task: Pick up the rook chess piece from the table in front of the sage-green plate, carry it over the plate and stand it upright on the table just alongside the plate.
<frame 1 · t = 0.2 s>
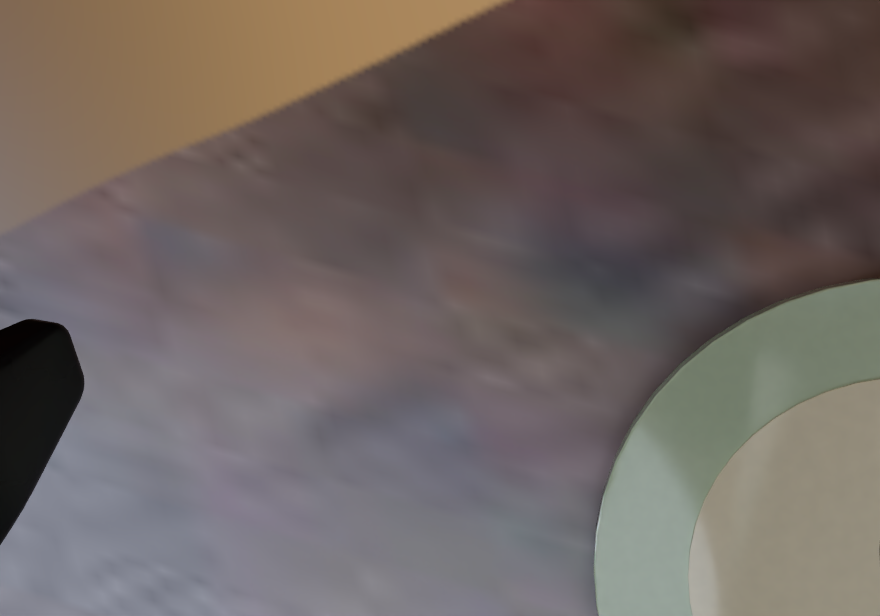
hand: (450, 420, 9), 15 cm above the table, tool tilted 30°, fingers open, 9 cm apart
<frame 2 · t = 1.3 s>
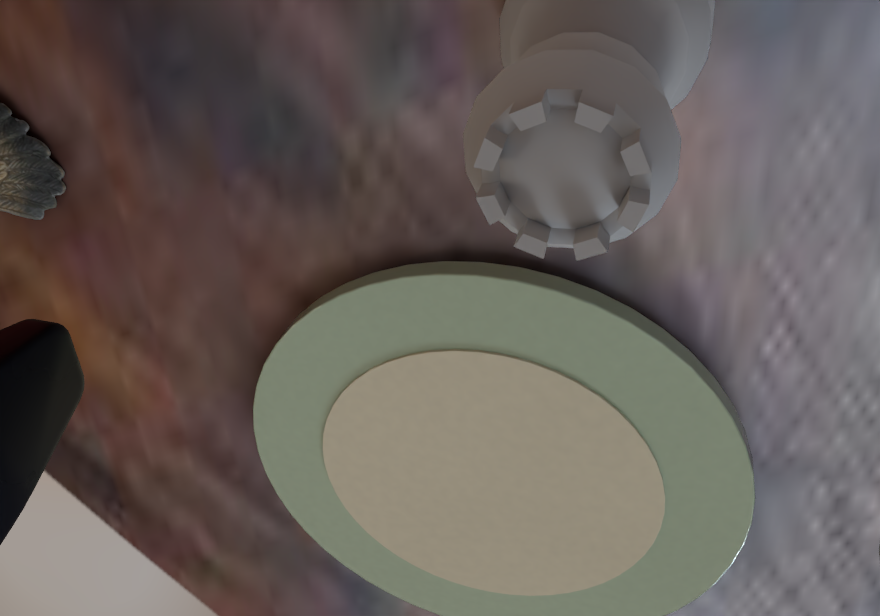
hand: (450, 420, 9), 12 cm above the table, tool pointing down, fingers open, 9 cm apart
plate: (493, 457, 27), on the table
rook chess piece: (608, 15, 18), on the table
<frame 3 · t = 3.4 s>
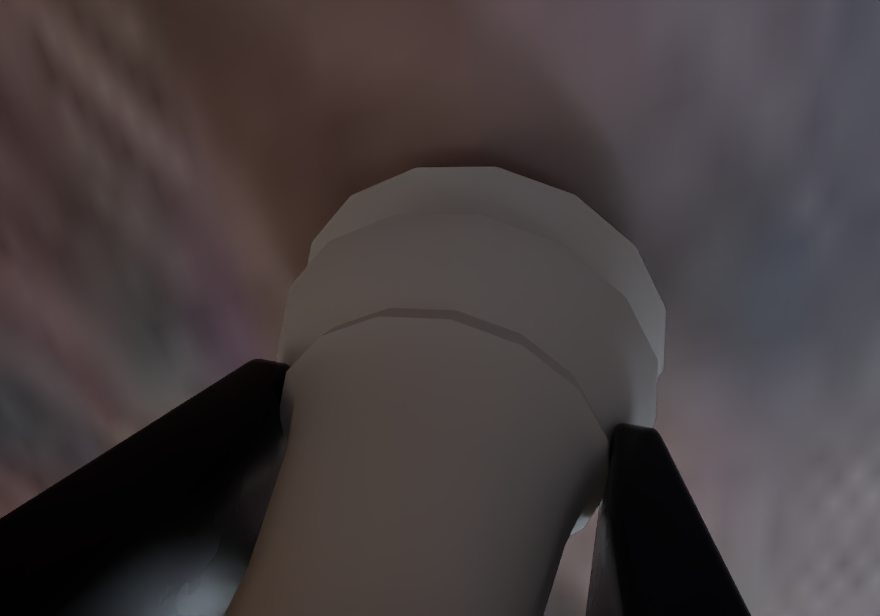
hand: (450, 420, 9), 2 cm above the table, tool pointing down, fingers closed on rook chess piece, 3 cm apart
rook chess piece: (486, 298, 10), on the table, touching gripper
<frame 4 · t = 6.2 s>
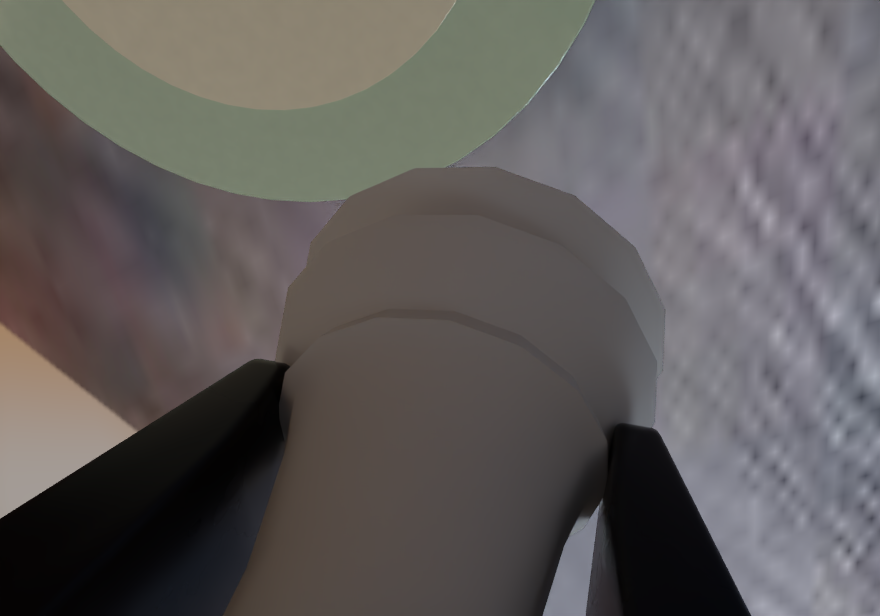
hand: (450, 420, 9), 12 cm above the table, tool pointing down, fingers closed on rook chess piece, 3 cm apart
rook chess piece: (486, 299, 10), point 10 cm above the table, touching gripper
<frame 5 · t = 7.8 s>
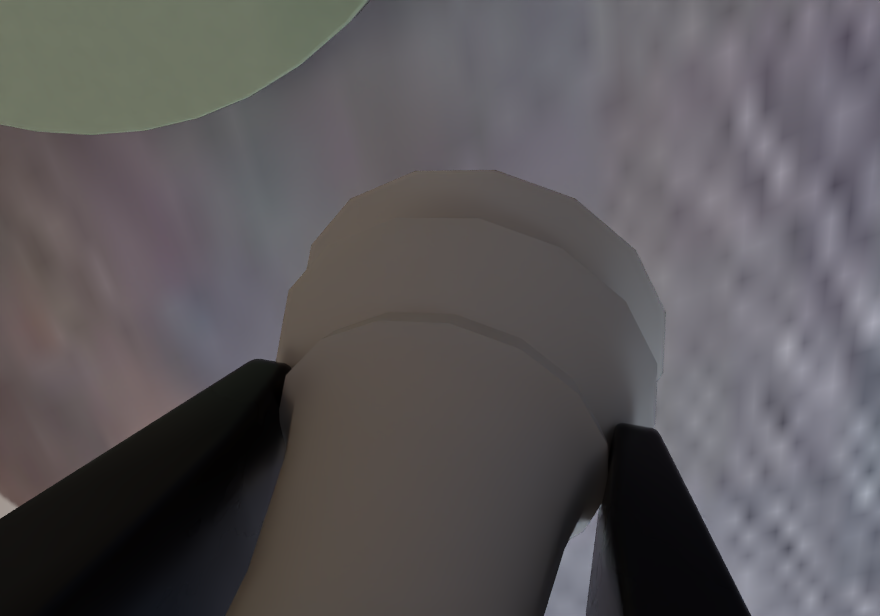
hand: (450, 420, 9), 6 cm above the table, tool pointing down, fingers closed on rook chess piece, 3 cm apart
rook chess piece: (486, 301, 10), point 4 cm above the table, touching gripper
when the fingers open (2 cm above the table, at t = 9.3 s): rook chess piece stays where it is, on the table.
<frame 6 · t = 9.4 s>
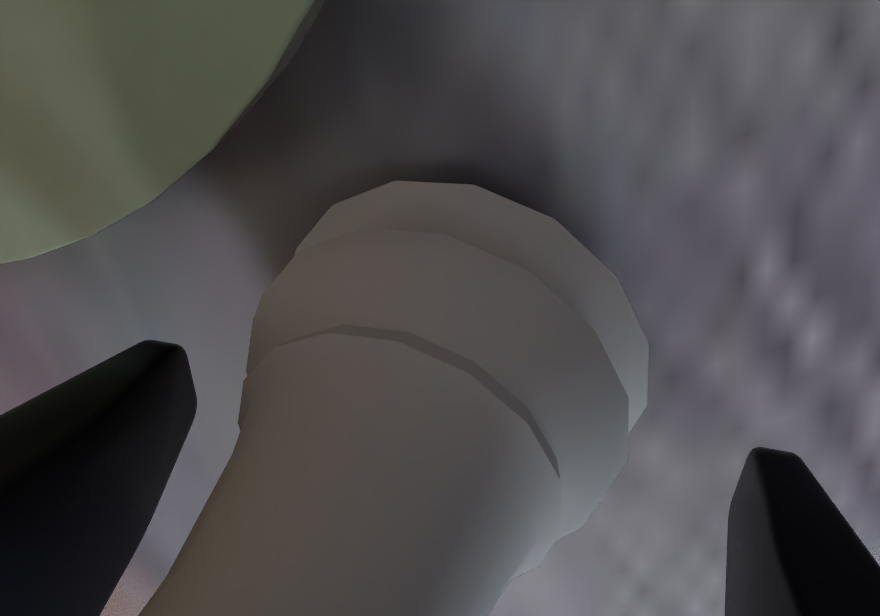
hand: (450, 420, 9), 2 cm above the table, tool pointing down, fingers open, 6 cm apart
rook chess piece: (474, 317, 10), on the table
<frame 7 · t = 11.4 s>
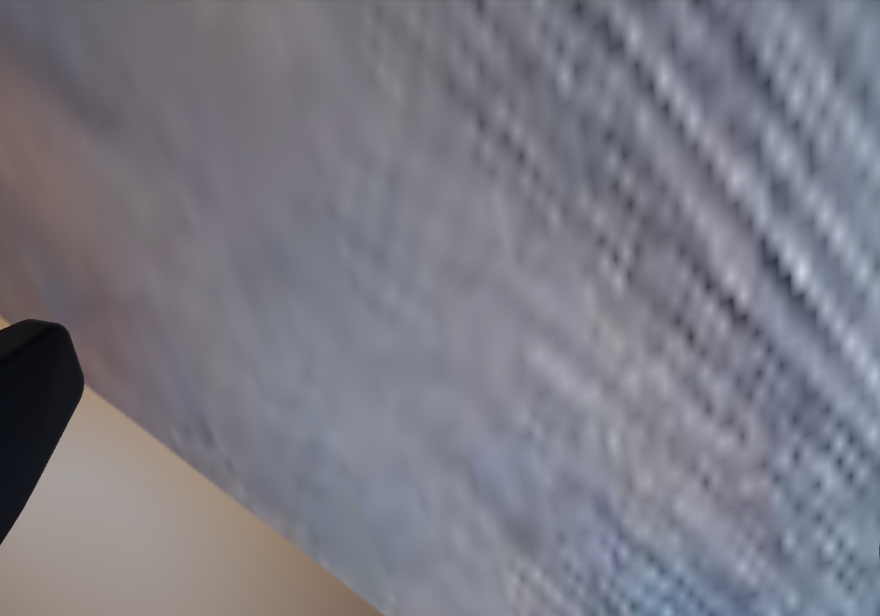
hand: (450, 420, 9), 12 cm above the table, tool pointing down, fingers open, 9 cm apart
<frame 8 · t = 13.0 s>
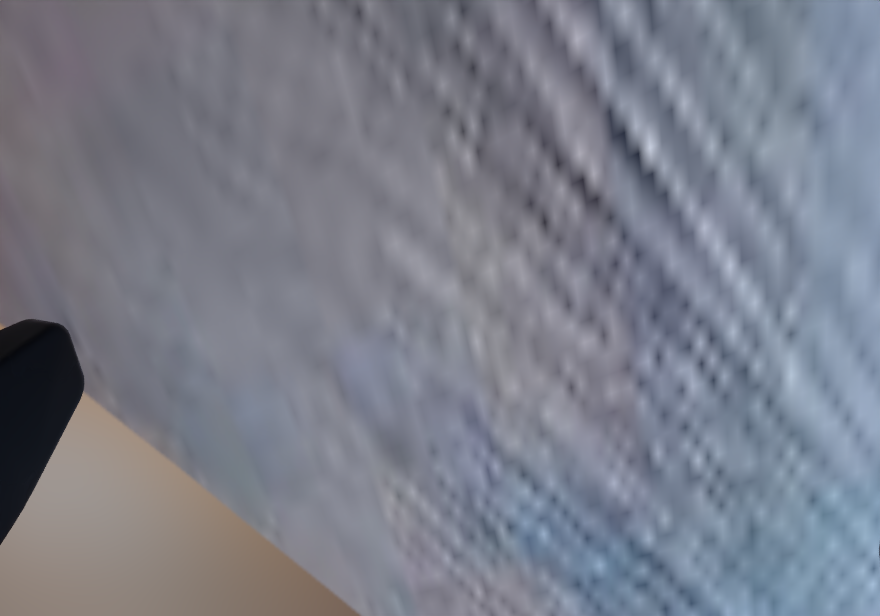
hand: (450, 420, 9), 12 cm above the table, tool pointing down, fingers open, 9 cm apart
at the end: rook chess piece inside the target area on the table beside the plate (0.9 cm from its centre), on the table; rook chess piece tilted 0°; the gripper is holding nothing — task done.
